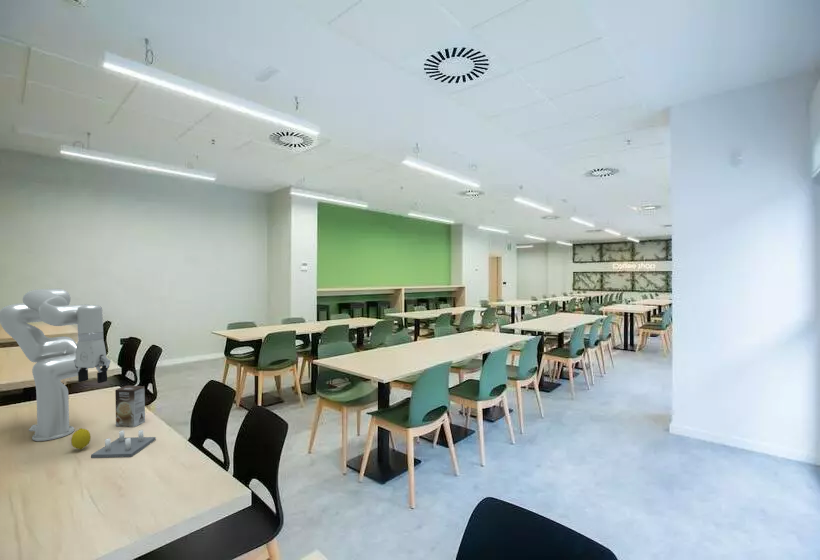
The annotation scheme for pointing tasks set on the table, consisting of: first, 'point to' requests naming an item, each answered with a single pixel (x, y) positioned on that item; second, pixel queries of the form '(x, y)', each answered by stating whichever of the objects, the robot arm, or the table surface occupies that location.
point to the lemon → (80, 438)
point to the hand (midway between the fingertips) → (92, 381)
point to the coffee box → (130, 405)
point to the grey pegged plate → (123, 446)
